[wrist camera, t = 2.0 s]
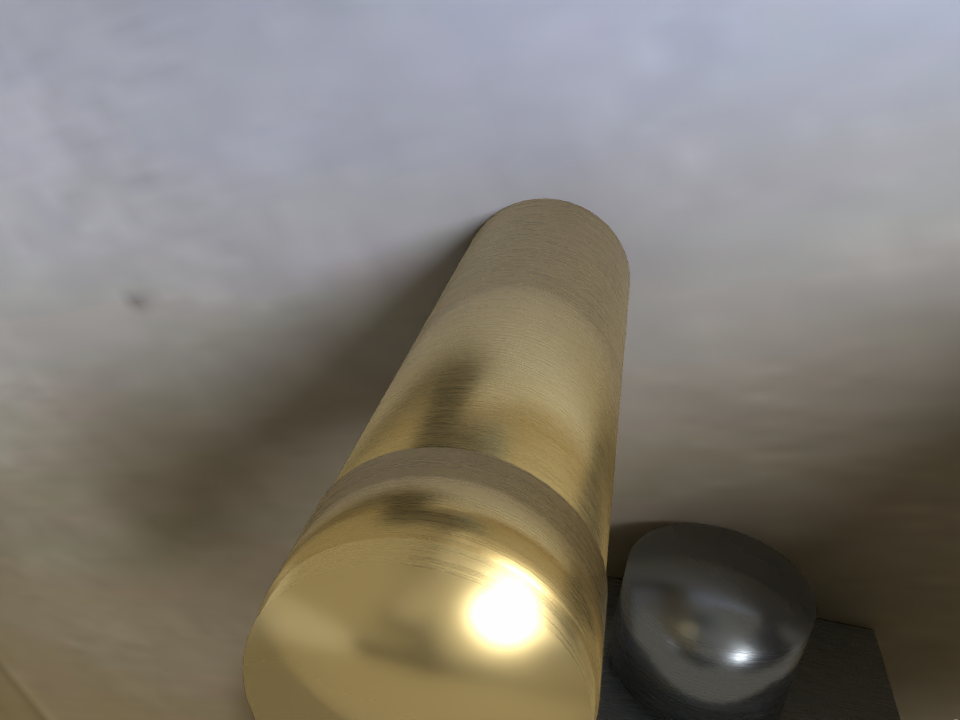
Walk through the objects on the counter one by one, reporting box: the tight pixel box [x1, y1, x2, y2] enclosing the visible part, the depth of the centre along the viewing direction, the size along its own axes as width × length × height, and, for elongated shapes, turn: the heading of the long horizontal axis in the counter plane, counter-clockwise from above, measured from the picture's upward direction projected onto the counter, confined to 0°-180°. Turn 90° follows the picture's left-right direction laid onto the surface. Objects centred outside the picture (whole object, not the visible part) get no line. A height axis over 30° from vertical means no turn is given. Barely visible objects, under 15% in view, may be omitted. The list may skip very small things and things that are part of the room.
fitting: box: [243, 199, 630, 720], centre depth 18 cm, size 5×5×15 cm
